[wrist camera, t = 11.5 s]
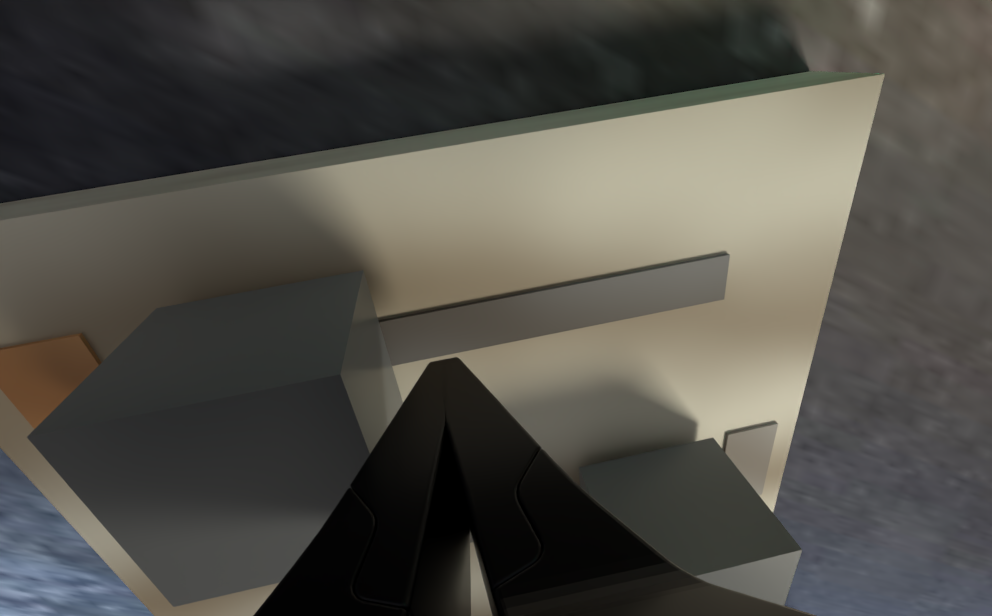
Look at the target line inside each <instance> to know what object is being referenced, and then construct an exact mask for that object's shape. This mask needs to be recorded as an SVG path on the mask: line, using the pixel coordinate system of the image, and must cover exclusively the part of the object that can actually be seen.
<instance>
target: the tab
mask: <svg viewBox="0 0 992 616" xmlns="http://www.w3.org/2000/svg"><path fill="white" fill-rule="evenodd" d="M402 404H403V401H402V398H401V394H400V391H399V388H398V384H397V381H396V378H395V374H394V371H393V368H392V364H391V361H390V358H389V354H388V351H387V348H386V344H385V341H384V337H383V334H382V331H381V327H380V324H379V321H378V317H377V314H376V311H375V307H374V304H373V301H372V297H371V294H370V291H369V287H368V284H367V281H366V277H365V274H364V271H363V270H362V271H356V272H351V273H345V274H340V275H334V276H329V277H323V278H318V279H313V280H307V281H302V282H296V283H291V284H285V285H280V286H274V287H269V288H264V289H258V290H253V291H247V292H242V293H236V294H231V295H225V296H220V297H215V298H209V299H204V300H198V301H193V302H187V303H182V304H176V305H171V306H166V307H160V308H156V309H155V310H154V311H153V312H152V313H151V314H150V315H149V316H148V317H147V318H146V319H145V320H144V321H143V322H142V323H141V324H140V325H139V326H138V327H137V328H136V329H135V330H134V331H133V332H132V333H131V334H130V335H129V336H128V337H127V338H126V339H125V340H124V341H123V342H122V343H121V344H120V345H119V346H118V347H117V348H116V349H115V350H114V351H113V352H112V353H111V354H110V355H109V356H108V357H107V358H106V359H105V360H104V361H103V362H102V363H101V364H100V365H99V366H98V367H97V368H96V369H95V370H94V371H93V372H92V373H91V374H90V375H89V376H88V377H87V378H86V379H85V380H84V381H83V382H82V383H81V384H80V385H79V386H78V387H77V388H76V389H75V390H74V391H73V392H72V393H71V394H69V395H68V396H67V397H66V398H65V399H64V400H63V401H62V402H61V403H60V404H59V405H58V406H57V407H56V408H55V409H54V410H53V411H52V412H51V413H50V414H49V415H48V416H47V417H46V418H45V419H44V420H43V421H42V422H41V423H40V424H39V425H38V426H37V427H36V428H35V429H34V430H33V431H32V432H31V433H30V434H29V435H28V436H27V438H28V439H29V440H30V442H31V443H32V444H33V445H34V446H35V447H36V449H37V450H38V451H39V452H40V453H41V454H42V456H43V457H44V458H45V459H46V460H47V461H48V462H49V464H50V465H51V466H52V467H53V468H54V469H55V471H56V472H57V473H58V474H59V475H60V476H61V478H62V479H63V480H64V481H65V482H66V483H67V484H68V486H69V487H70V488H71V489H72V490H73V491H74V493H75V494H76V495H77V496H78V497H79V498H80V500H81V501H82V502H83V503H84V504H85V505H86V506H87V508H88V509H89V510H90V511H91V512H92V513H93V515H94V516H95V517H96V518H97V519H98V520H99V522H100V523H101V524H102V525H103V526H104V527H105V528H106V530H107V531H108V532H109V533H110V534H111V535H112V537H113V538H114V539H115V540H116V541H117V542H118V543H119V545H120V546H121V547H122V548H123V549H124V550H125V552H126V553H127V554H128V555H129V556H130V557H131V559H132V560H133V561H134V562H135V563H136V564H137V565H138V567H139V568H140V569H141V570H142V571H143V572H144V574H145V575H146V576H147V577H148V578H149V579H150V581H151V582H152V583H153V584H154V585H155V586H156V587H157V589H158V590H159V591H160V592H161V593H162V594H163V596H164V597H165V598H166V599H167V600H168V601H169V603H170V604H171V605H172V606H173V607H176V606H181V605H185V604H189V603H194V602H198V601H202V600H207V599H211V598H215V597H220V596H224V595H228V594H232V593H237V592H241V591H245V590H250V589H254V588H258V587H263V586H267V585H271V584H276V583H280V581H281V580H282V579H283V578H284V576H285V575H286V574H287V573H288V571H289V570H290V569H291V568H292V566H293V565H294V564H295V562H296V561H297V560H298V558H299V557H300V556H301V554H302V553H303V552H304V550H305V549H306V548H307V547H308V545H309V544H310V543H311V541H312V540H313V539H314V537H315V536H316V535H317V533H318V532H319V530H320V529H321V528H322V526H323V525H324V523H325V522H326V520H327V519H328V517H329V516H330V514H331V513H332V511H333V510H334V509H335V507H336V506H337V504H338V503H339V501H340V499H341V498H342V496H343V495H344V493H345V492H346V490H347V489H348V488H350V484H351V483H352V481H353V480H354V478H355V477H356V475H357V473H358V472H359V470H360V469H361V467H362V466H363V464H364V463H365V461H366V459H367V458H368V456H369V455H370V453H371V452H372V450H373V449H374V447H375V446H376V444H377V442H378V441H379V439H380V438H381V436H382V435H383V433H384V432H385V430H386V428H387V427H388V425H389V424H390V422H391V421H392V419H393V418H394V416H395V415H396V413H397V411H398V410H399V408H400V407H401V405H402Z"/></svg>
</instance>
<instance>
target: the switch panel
mask: <svg viewBox="0 0 992 616" xmlns="http://www.w3.org/2000/svg"><path fill="white" fill-rule="evenodd" d="M884 75H885V74H873V73H848V72H822V71H809V72H803V73H797V74H791V75H785V76H779V77H772V78H766V79H760V80H754V81H748V82H742V83H736V84H730V85H723V86H717V87H711V88H705V89H699V90H693V91H687V92H680V93H674V94H668V95H662V96H656V97H650V98H644V99H638V100H631V101H625V102H619V103H613V104H607V105H601V106H595V107H588V108H582V109H576V110H570V111H564V112H558V113H552V114H545V115H539V116H533V117H527V118H521V119H515V120H509V121H503V122H496V123H490V124H484V125H478V126H472V127H466V128H460V129H453V130H447V131H441V132H435V133H429V134H423V135H417V136H411V137H404V138H398V139H392V140H386V141H380V142H374V143H368V144H361V145H355V146H349V147H343V148H337V149H331V150H325V151H319V152H312V153H306V154H300V155H294V156H288V157H282V158H276V159H269V160H263V161H257V162H251V163H245V164H239V165H233V166H227V167H220V168H214V169H208V170H202V171H196V172H190V173H184V174H177V175H171V176H165V177H159V178H153V179H147V180H141V181H135V182H128V183H122V184H116V185H110V186H104V187H98V188H92V189H85V190H79V191H73V192H67V193H61V194H55V195H49V196H42V197H36V198H30V199H24V200H18V201H12V202H6V203H0V448H1V449H2V450H3V451H4V452H5V453H6V454H7V456H8V457H9V458H10V459H11V460H12V461H13V462H14V463H15V464H16V465H17V466H18V468H19V469H20V470H21V471H22V472H23V473H24V474H25V475H26V476H27V477H28V478H29V480H30V481H31V482H32V483H33V484H34V485H35V486H36V487H37V488H38V489H39V490H40V492H41V493H42V494H43V495H44V496H45V497H46V498H47V499H48V500H49V501H50V502H51V504H52V505H53V506H54V507H55V508H56V509H57V510H58V511H59V512H60V513H61V514H62V516H63V517H64V518H65V519H66V520H67V521H68V522H69V523H70V524H71V525H72V526H73V528H74V529H75V530H76V531H77V532H78V533H79V534H80V535H81V536H82V537H83V538H84V540H85V541H86V542H87V543H88V544H89V545H90V546H91V547H92V548H93V549H94V550H95V552H96V553H97V554H98V555H99V556H100V557H101V558H102V559H103V560H104V561H105V562H106V564H107V565H108V566H109V567H110V568H111V569H112V570H113V571H114V572H115V573H116V574H117V576H118V577H119V578H120V579H121V580H122V581H123V582H124V583H125V584H126V585H127V586H128V588H129V589H130V590H131V591H132V592H133V593H134V594H135V595H136V596H137V597H138V598H139V600H140V601H141V602H142V603H143V604H144V605H145V606H146V607H147V608H148V609H149V610H150V612H151V613H152V614H153V615H154V616H253V615H254V614H255V613H256V612H257V610H258V609H259V608H260V607H261V605H262V604H263V603H264V601H265V600H266V599H267V598H268V596H269V595H270V594H271V593H272V591H273V590H274V589H275V588H276V586H277V585H278V584H279V583H276V584H271V585H267V586H263V587H258V588H254V589H250V590H245V591H241V592H237V593H232V594H228V595H224V596H220V597H215V598H211V599H207V600H202V601H198V602H194V603H189V604H185V605H181V606H176V607H173V606H172V605H171V604H170V603H169V601H168V600H167V599H166V598H165V597H164V596H163V594H162V593H161V592H160V591H159V590H158V589H157V587H156V586H155V585H154V584H153V583H152V582H151V581H150V579H149V578H148V577H147V576H146V575H145V574H144V572H143V571H142V570H141V569H140V568H139V567H138V565H137V564H136V563H135V562H134V561H133V560H132V559H131V557H130V556H129V555H128V554H127V553H126V552H125V550H124V549H123V548H122V547H121V546H120V545H119V543H118V542H117V541H116V540H115V539H114V538H113V537H112V535H111V534H110V533H109V532H108V531H107V530H106V528H105V527H104V526H103V525H102V524H101V523H100V522H99V520H98V519H97V518H96V517H95V516H94V515H93V513H92V512H91V511H90V510H89V509H88V508H87V506H86V505H85V504H84V503H83V502H82V501H81V500H80V498H79V497H78V496H77V495H76V494H75V493H74V491H73V490H72V489H71V488H70V487H69V486H68V484H67V483H66V482H65V481H64V480H63V479H62V478H61V476H60V475H59V474H58V473H57V472H56V471H55V469H54V468H53V467H52V466H51V465H50V464H49V462H48V461H47V460H46V459H45V458H44V457H43V456H42V454H41V453H40V452H39V451H38V450H37V449H36V447H35V446H34V445H33V444H32V443H31V442H30V440H29V439H28V438H27V436H28V435H29V434H30V433H31V432H32V431H33V430H34V429H35V428H36V427H37V426H38V425H39V424H40V423H41V422H42V421H43V420H44V419H45V418H46V417H47V416H48V415H49V414H50V413H51V412H52V411H53V410H54V409H55V408H56V407H57V406H58V405H59V404H60V403H61V402H62V401H63V400H64V399H65V398H66V397H67V396H68V395H69V394H71V393H72V392H73V391H74V390H75V389H76V388H77V387H78V386H79V385H80V384H81V383H82V382H83V381H84V380H85V379H86V378H87V377H88V376H89V375H90V374H91V373H92V372H93V371H94V370H95V369H96V368H97V367H98V366H99V365H100V364H101V363H102V362H103V361H104V360H105V359H106V358H107V357H108V356H109V355H110V354H111V353H112V352H113V351H114V350H115V349H116V348H117V347H118V346H119V345H120V344H121V343H122V342H123V341H124V340H125V339H126V338H127V337H128V336H129V335H130V334H131V333H132V332H133V331H134V330H135V329H136V328H137V327H138V326H139V325H140V324H141V323H142V322H143V321H144V320H145V319H146V318H147V317H148V316H149V315H150V314H151V313H152V312H153V311H154V310H155V309H156V308H160V307H166V306H171V305H176V304H182V303H187V302H193V301H198V300H204V299H209V298H215V297H220V296H225V295H231V294H236V293H242V292H247V291H253V290H258V289H264V288H269V287H274V286H280V285H285V284H291V283H296V282H302V281H307V280H313V279H318V278H323V277H329V276H334V275H340V274H345V273H351V272H356V271H362V270H363V271H364V274H365V277H366V281H367V284H368V287H369V291H370V294H371V297H372V301H373V304H374V307H375V311H376V314H377V317H378V321H379V324H380V327H381V331H382V334H383V337H384V341H385V344H386V348H387V351H388V354H389V358H390V361H391V364H392V368H393V371H394V374H395V378H396V381H397V384H398V388H399V391H400V394H401V398H402V401H403V402H404V401H405V399H406V398H407V396H408V394H409V393H410V391H411V390H412V388H413V387H414V385H415V384H416V382H417V380H418V379H419V377H420V376H421V374H422V373H423V371H424V370H425V368H426V367H427V365H428V364H429V363H430V362H432V361H438V360H443V359H448V358H454V357H458V358H459V359H461V360H462V362H463V363H464V364H465V365H466V366H467V367H468V368H469V369H470V370H471V371H472V372H473V374H474V375H475V376H476V377H477V378H478V379H479V380H480V381H481V382H482V383H483V384H484V385H485V387H486V388H487V389H488V390H489V391H490V392H491V393H492V394H493V395H494V396H495V397H496V398H497V400H498V401H499V402H500V403H501V404H502V405H503V406H504V407H505V408H506V409H507V410H508V411H509V413H510V414H511V415H512V416H513V417H514V418H515V419H516V420H517V421H518V422H519V423H520V425H521V426H522V427H523V428H524V429H525V430H526V431H527V432H528V433H529V434H530V435H531V436H532V438H533V439H534V440H535V441H536V442H537V443H538V444H539V445H540V446H541V448H542V449H544V450H545V451H546V452H547V454H548V455H549V456H550V457H551V458H552V459H553V460H554V461H555V462H556V463H557V464H558V465H559V466H560V467H561V468H562V469H563V470H564V471H565V472H566V473H567V474H568V475H569V476H570V477H571V478H572V479H573V480H574V481H575V482H576V483H577V484H578V485H579V486H580V479H579V467H583V466H588V465H592V464H597V463H601V462H606V461H610V460H615V459H619V458H623V457H628V456H632V455H637V454H641V453H646V452H650V451H655V450H659V449H664V448H668V447H673V446H677V445H682V444H686V443H690V442H695V441H699V440H704V439H708V438H714V439H715V440H716V442H717V443H718V444H719V445H720V447H721V448H722V449H723V451H724V452H725V453H726V454H727V456H728V457H729V458H730V459H731V461H732V462H733V463H734V464H735V466H736V467H737V468H738V469H739V471H740V472H741V473H742V475H743V476H744V477H745V478H746V480H747V481H748V482H749V483H750V485H751V486H752V487H753V488H754V490H755V491H756V492H757V493H758V495H759V496H760V497H761V499H762V500H763V501H764V502H765V504H766V505H767V506H768V507H769V509H770V510H771V511H772V512H773V511H774V507H775V503H776V499H777V495H778V491H779V487H780V483H781V479H782V475H783V471H784V467H785V463H786V460H787V456H788V452H789V448H790V444H791V440H792V436H793V432H794V428H795V424H796V420H797V416H798V413H799V409H800V405H801V401H802V397H803V393H804V389H805V385H806V381H807V377H808V373H809V369H810V365H811V362H812V358H813V354H814V350H815V346H816V342H817V338H818V334H819V330H820V326H821V322H822V318H823V314H824V311H825V307H826V303H827V299H828V295H829V291H830V287H831V283H832V279H833V275H834V271H835V267H836V263H837V260H838V256H839V252H840V248H841V244H842V240H843V236H844V232H845V228H846V224H847V220H848V216H849V212H850V209H851V205H852V201H853V197H854V193H855V189H856V185H857V181H858V177H859V173H860V169H861V165H862V161H863V158H864V154H865V150H866V146H867V142H868V138H869V134H870V130H871V126H872V122H873V118H874V114H875V111H876V107H877V103H878V99H879V95H880V91H881V87H882V83H883V79H884ZM470 572H471V616H492V612H491V608H490V604H489V601H488V597H487V593H486V589H485V585H484V581H483V578H482V574H481V570H480V566H479V562H478V558H477V555H476V551H475V547H474V543H473V539H472V535H471V532H470Z"/></svg>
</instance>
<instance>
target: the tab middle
mask: <svg viewBox="0 0 992 616" xmlns="http://www.w3.org/2000/svg"><path fill="white" fill-rule="evenodd" d="M579 479H580V487H582V488H583V489H584V490H585V491H586V492H587V493H588V494H590V495H591V496H592V497H593V498H594V499H595V500H597V501H598V502H599V503H600V504H601V505H603V506H604V507H605V508H606V509H607V510H609V511H610V512H611V513H612V514H613V515H615V516H616V517H617V518H618V519H620V520H621V521H622V522H623V523H624V524H626V525H627V526H628V527H629V528H630V529H632V530H633V531H634V532H635V533H637V534H638V535H639V536H640V537H641V538H643V539H644V540H645V541H646V542H648V543H649V544H650V545H651V546H652V547H654V548H655V549H656V550H657V551H658V552H660V553H661V554H662V555H663V556H665V557H666V558H667V559H669V560H670V561H671V562H673V563H674V564H676V565H677V566H679V567H680V568H682V569H683V570H685V571H686V572H688V573H690V574H692V575H694V576H695V577H697V578H699V579H702V580H704V581H706V582H708V583H711V584H714V585H717V586H720V587H724V588H727V589H730V590H734V591H737V592H740V593H743V594H747V595H750V596H753V597H757V598H760V599H763V600H766V601H770V602H773V603H776V604H780V605H783V606H784V604H785V601H786V598H787V595H788V592H789V589H790V586H791V583H792V580H793V576H794V573H795V570H796V567H797V564H798V561H799V558H800V555H801V552H802V549H801V548H800V547H799V545H798V544H797V543H796V542H795V540H794V539H793V538H792V536H791V535H790V534H789V533H788V531H787V530H786V529H785V528H784V526H783V525H782V524H781V523H780V521H779V520H778V519H777V518H776V516H775V515H774V514H773V512H772V511H771V510H770V509H769V507H768V506H767V505H766V504H765V502H764V501H763V500H762V499H761V497H760V496H759V495H758V493H757V492H756V491H755V490H754V488H753V487H752V486H751V485H750V483H749V482H748V481H747V480H746V478H745V477H744V476H743V475H742V473H741V472H740V471H739V469H738V468H737V467H736V466H735V464H734V463H733V462H732V461H731V459H730V458H729V457H728V456H727V454H726V453H725V452H724V451H723V449H722V448H721V447H720V445H719V444H718V443H717V442H716V440H715V439H714V438H708V439H704V440H699V441H695V442H690V443H686V444H682V445H677V446H673V447H668V448H664V449H659V450H655V451H650V452H646V453H641V454H637V455H632V456H628V457H623V458H619V459H615V460H610V461H606V462H601V463H597V464H592V465H588V466H583V467H579Z"/></svg>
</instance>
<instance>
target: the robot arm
mask: <svg viewBox="0 0 992 616" xmlns="http://www.w3.org/2000/svg"><path fill="white" fill-rule="evenodd" d="M470 532H471V535H472V539H473V543H474V547H475V551H476V555H477V558H478V562H479V566H480V570H481V574H482V578H483V581H484V585H485V589H486V593H487V597H488V601H489V604H490V608H491V612H492V616H816V615H813V614H809V613H806V612H803V611H799V610H796V609H793V608H789V607H786V606H783V605H780V604H776V603H773V602H770V601H766V600H763V599H760V598H757V597H753V596H750V595H747V594H743V593H740V592H737V591H734V590H730V589H727V588H724V587H720V586H717V585H714V584H711V583H708V582H706V581H704V580H702V579H699V578H697V577H695V576H694V575H692V574H690V573H688V572H686V571H685V570H683V569H682V568H680V567H679V566H677V565H676V564H674V563H673V562H671V561H670V560H669V559H667V558H666V557H665V556H663V555H662V554H661V553H660V552H658V551H657V550H656V549H655V548H654V547H652V546H651V545H650V544H649V543H648V542H646V541H645V540H644V539H643V538H641V537H640V536H639V535H638V534H637V533H635V532H634V531H633V530H632V529H630V528H629V527H628V526H627V525H626V524H624V523H623V522H622V521H621V520H620V519H618V518H617V517H616V516H615V515H613V514H612V513H611V512H610V511H609V510H607V509H606V508H605V507H604V506H603V505H601V504H600V503H599V502H598V501H597V500H595V499H594V498H593V497H592V496H591V495H590V494H588V493H587V492H586V491H585V490H584V489H583V488H582V487H580V486H579V485H578V484H577V483H576V482H575V481H574V480H573V479H572V478H571V477H570V476H569V475H568V474H567V473H566V472H565V471H564V470H563V469H562V468H561V467H560V466H559V465H558V464H557V463H556V462H555V461H554V460H553V459H552V458H551V457H550V456H549V455H548V454H547V452H546V451H545V450H544V449H542V448H541V446H540V445H539V444H538V443H537V442H536V441H535V440H534V439H533V438H532V436H531V435H530V434H529V433H528V432H527V431H526V430H525V429H524V428H523V427H522V426H521V425H520V423H519V422H518V421H517V420H516V419H515V418H514V417H513V416H512V415H511V414H510V413H509V411H508V410H507V409H506V408H505V407H504V406H503V405H502V404H501V403H500V402H499V401H498V400H497V398H496V397H495V396H494V395H493V394H492V393H491V392H490V391H489V390H488V389H487V388H486V387H485V385H484V384H483V383H482V382H481V381H480V380H479V379H478V378H477V377H476V376H475V375H474V374H473V372H472V371H471V370H470V369H469V368H468V367H467V366H466V365H465V364H464V363H463V362H462V360H461V359H459V358H458V357H454V358H448V359H443V360H438V361H432V362H430V363H429V364H428V365H427V367H426V368H425V370H424V371H423V373H422V374H421V376H420V377H419V379H418V380H417V382H416V384H415V385H414V387H413V388H412V390H411V391H410V393H409V394H408V396H407V398H406V399H405V401H404V402H403V404H402V405H401V407H400V408H399V410H398V411H397V413H396V415H395V416H394V418H393V419H392V421H391V422H390V424H389V425H388V427H387V428H386V430H385V432H384V433H383V435H382V436H381V438H380V439H379V441H378V442H377V444H376V446H375V447H374V449H373V450H372V452H371V453H370V455H369V456H368V458H367V459H366V461H365V463H364V464H363V466H362V467H361V469H360V470H359V472H358V473H357V475H356V477H355V478H354V480H353V481H352V483H351V484H350V488H348V489H347V490H346V492H345V493H344V495H343V496H342V498H341V499H340V501H339V503H338V504H337V506H336V507H335V509H334V510H333V511H332V513H331V514H330V516H329V517H328V519H327V520H326V522H325V523H324V525H323V526H322V528H321V529H320V530H319V532H318V533H317V535H316V536H315V537H314V539H313V540H312V541H311V543H310V544H309V545H308V547H307V548H306V549H305V550H304V552H303V553H302V554H301V556H300V557H299V558H298V560H297V561H296V562H295V564H294V565H293V566H292V568H291V569H290V570H289V571H288V573H287V574H286V575H285V576H284V578H283V579H282V580H281V581H280V583H279V584H278V585H277V586H276V588H275V589H274V590H273V591H272V593H271V594H270V595H269V596H268V598H267V599H266V600H265V601H264V603H263V604H262V605H261V607H260V608H259V609H258V610H257V612H256V613H255V614H254V615H253V616H471V572H470Z"/></svg>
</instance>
